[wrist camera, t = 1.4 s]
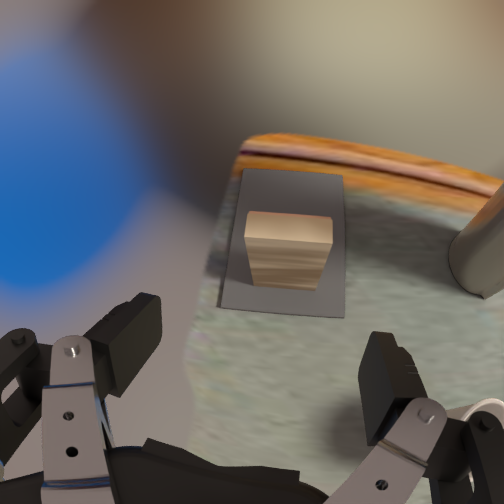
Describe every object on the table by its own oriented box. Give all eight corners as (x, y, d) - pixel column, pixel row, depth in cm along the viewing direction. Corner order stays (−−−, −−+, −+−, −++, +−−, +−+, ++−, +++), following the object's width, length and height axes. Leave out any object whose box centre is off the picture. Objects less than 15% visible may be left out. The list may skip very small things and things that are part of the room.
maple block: (315, 291, 35) (332, 243, 24) (254, 286, 35) (244, 236, 25) (316, 270, 36) (332, 216, 25) (256, 265, 36) (248, 210, 26)
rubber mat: (343, 318, 34) (344, 317, 33) (221, 308, 35) (220, 307, 35) (341, 177, 42) (342, 175, 41) (243, 170, 43) (243, 168, 43)
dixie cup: (417, 478, 24) (459, 498, 15) (397, 424, 28) (439, 432, 19) (470, 440, 25) (519, 445, 16) (452, 387, 28) (501, 381, 19)
